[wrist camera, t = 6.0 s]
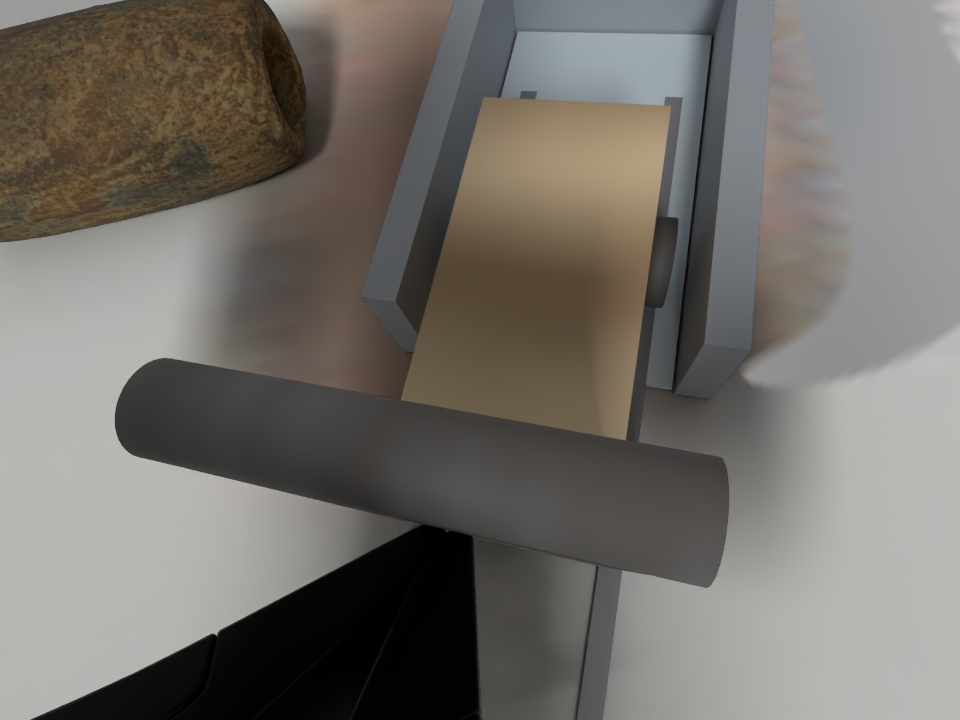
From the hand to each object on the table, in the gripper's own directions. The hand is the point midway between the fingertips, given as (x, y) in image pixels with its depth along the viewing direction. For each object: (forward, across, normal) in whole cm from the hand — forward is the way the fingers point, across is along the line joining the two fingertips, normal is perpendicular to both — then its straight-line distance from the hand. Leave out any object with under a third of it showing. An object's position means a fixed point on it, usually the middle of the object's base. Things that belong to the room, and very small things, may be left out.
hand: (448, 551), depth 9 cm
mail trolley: (+9, 0, -1) cm, 9 cm away
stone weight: (+13, -17, +2) cm, 22 cm away
